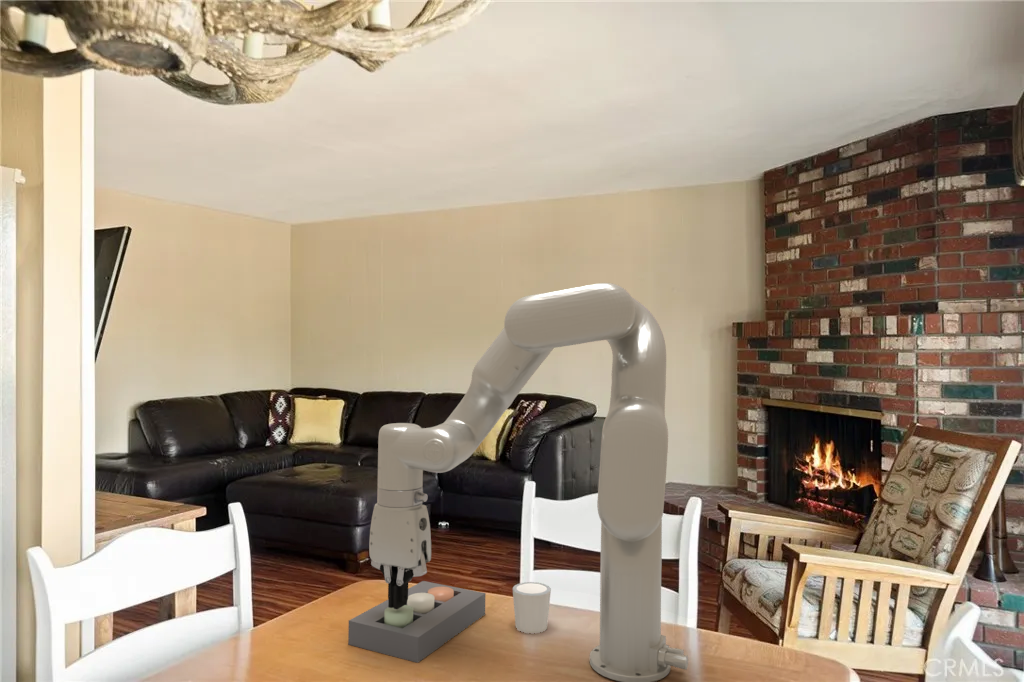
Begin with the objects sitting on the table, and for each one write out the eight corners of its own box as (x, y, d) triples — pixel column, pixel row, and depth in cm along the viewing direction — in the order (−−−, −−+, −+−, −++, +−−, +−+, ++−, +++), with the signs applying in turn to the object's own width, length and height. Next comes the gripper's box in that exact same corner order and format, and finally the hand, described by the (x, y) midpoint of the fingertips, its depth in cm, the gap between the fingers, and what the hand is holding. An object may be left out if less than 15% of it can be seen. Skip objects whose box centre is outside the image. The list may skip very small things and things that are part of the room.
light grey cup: (551, 635, 119) (551, 595, 119) (511, 634, 119) (512, 594, 119) (549, 619, 126) (550, 581, 126) (512, 619, 126) (512, 581, 126)
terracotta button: (458, 605, 128) (458, 589, 128) (444, 614, 124) (444, 597, 124) (436, 600, 130) (436, 585, 131) (422, 609, 126) (422, 593, 126)
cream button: (439, 612, 123) (439, 595, 123) (424, 622, 118) (424, 604, 118) (417, 607, 125) (417, 591, 125) (401, 616, 120) (401, 599, 120)
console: (485, 614, 128) (485, 593, 128) (417, 662, 108) (417, 637, 109) (422, 601, 134) (423, 580, 134) (348, 644, 115) (348, 620, 115)
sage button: (418, 625, 117) (418, 607, 117) (401, 636, 112) (402, 617, 112) (395, 620, 119) (395, 602, 119) (378, 630, 115) (378, 612, 115)
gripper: (449, 498, 116) (447, 606, 116) (378, 488, 123) (376, 591, 122) (424, 507, 109) (422, 622, 109) (350, 496, 116) (348, 605, 116)
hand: (397, 605), depth 116 cm, fingers closed
